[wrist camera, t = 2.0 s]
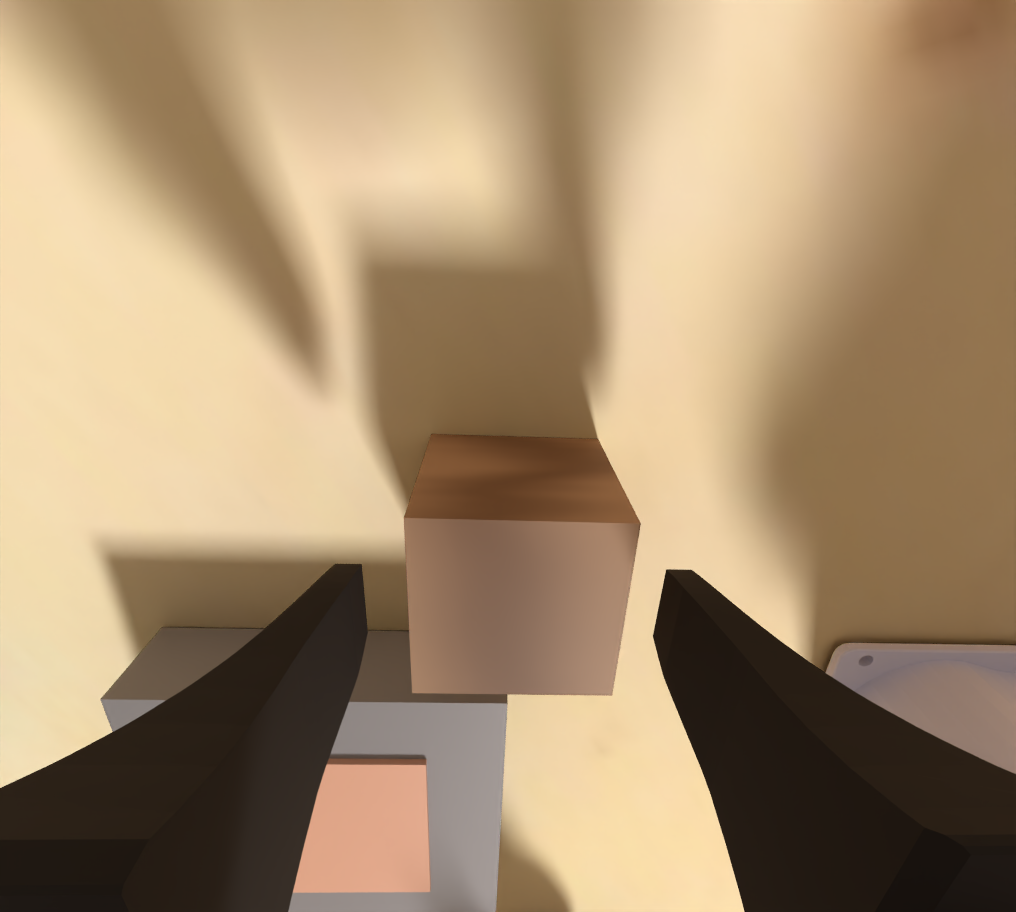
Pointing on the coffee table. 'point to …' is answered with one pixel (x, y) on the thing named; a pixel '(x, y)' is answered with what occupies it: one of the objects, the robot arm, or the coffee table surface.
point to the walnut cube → (517, 566)
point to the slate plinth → (372, 778)
